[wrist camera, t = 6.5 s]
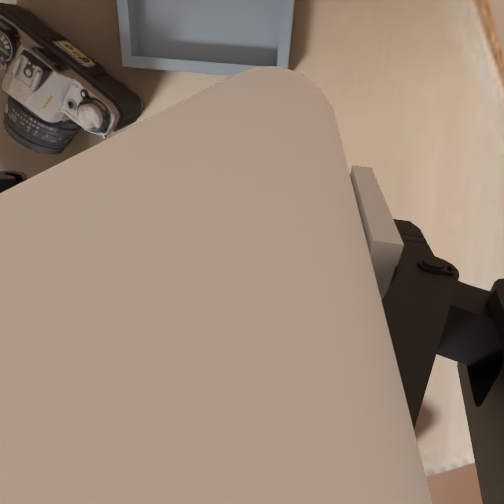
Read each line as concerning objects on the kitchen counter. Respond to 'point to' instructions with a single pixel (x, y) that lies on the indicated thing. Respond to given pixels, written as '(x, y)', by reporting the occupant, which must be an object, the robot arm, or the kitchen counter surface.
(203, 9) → the tray
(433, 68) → the kitchen counter surface
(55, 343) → the bottle
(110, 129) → the camera
